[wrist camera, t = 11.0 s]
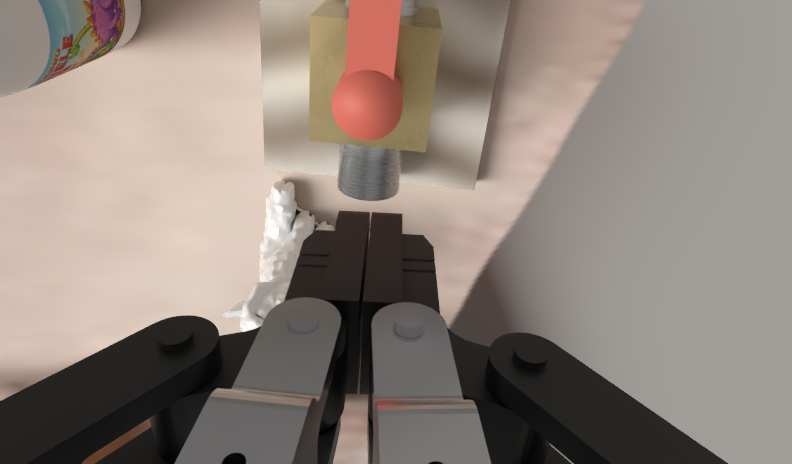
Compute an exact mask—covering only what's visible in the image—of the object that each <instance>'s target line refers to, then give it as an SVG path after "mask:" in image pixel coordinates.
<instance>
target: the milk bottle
mask: <svg viewBox="0 0 792 464" xmlns="http://www.w3.org/2000/svg"><path fill="white" fill-rule="evenodd" d="M140 15H141V1H140V0H0V97H3V96H7V95H11V94H14V93H17V92H19V91H22V90H25V89H27V88H30V87H33V86H35V85H38V84H40V83H43V82H45V81H47V80H50V79H52V78H54V77H57V76H59V75H61V74H64V73H66V72H68V71H70V70H73V69H75V68H77V67H79V66H82V65H84V64H86V63H88V62H91V61H93V60H95V59H97V58H99V57H102V56H104V55H106V54H108V53H110V52H112V51H114V50H116V49H118V48H120V47H122V46H123V45H125V44H126V43H127V42H128V41H129V40H130V39H131V38H132V36H133V35H134V34H135V32H136V30H137V27H138V25H139V21H140Z"/></svg>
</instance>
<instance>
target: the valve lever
mask: <svg viewBox="0 0 792 464" xmlns="http://www.w3.org/2000/svg"><path fill="white" fill-rule="evenodd" d="M401 8H402V0H349V17H348V34H347V51H346V67H345V72H344V74H343V75H342V76H341V78H340V80H339V82H338V84H337V86H336V88H335V90H334V93H333V96H332V101H331V108H332V113H333V117H334V119H335V121H336V123H337V124H338V126H339V127H340V128H341V129H342V130H343V131H344V132H345V133H346V134H348V135H349V136H351V137H353V138H356V139H359V140H365V141H371V140H377V139H380V138H383V137H385V136H386V135H388V134H389V133H391V132H392V131H393V130H394V129H395V127H396V126H397V124H398V123H399V120H400V118H401V114H402V105H403V91H402V87H401V84H400V82H399V80H398V78H397V77H396V75H395V64H396V55H397V45H398V36H399V27H400V17H401Z"/></svg>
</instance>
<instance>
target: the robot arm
mask: <svg viewBox="0 0 792 464" xmlns="http://www.w3.org/2000/svg"><path fill="white" fill-rule="evenodd" d="M369 226H370V212H354V211H339V214H338V218H337V223H336V227H335V231H329V230H315V231H314V232H313V233H312V234H311V235H309V236H308V237H307V238H306V239H305V240H304V241H303V244H302V247H301V250H300V253H299V256H298V259H297V262H296V267H295V269H294V272H293V275H292V278H291V281H290V284H289V287H288V291H287V294H286V297H285V300H284V302H282V303H280V304H278V305H276V306H275V307H273V308H272V309H271V310H270V311H269V312H268V314H267V315H266V317H265V319H264V321H263V324H262V326H260V327H258V328H256V329H252V330H249V331H245V332H240V333H234V334H228V335H222V336H219V332H218V329H217V327H216V326H215V325H214V324H213V323H212V322H211V321H209V320H207V319H205V318H202V317H197V316H176V317H171V318H167V319H164V320H161V321H159V322H156V323H154V324H152V325H150V326H148V327H146V328H144V329H142V330H140V331H138V332H136V333H134V334H132V335H130V336H128V337H126V338H124V339H123V340H121V341H119V342H117V343H115V344H113V345H111V346H109V347H107V348H105V349H103V350H101V351H99V352H97V353H95V354H93V355H91V356H89V357H87V358H85V359H83V360H81V361H79V362H77V363H75V364H73V365H71V366H69V367H67V368H65V369H63V370H61V371H59V372H57V373H55V374H53V375H51V376H49V377H47V378H45V379H43V380H41V381H39V382H37V383H35V384H33V385H31V386H29V387H27V388H25V389H23V390H21V391H20V392H18V393H16V394H14V395H12V396H10V397H8V398H6V399H4V400H2V401H0V464H81V463H82V462H83V461H84V460H85V459H87V458H88V457H89V456H90V455H92V454H93V453H95V452H96V451H98V450H99V449H101V448H103V447H104V446H106V445H107V444H109V443H111V442H112V441H114V440H115V439H117V438H118V437H120V436H122V435H123V434H125V433H126V432H128V431H130V430H131V429H133V428H134V427H136V426H137V425H139V424H141V423H142V422H144V421H145V420H147V419H148V418H149V419H150V423H151V428H149V429H148V430H146V431H145V432H143V433H141V434H140V435H138V436H137V437H135V438H134V439H132V440H131V441H129V442H128V443H126V444H124V445H123V446H121V447H120V448H118V449H117V450H115V451H114V452H112V453H111V454H109V455H107V456H106V457H104V458H103V459H101V460H100V461H98V462H97V463H95V464H333V459H334V455H335V450H336V446H337V441H338V436H339V432H340V426H341V415H342V413H343V409H344V403H345V395H346V393H348V394H357V386H358V376H359V366H360V356H361V380H360V394H369V397H368V423H367V440H368V464H571V463H570V462H569V461H568V460H566V459H565V458H564V457H563V456H562V455H561V454H559V453H558V452H557V451H556V450H555V449H554V448H552V447H551V446H550V443H551V444H552V445H553V446H554V447H555V448H556V449H558V450H559V451H560V452H561V453H562V454H563V455H565V456H566V457H567V458H568V459H569V460H570V461H572V462H573V463H574V464H728V463H726V462H725V461H724V460H722V459H721V458H719V457H718V456H716V455H715V454H713V453H712V452H711V451H709V450H708V449H706V448H705V447H703V446H702V445H700V444H699V443H697V442H696V441H694V440H693V439H692V438H690V437H689V436H687V435H686V434H684V433H683V432H681V431H680V430H678V429H677V428H676V427H674V426H673V425H671V424H670V423H669V422H667V421H666V420H664V419H663V418H661V417H660V416H658V415H657V414H656V413H654V412H653V411H651V410H650V409H648V408H647V407H645V406H644V405H643V404H641V403H640V402H638V401H637V400H635V399H634V398H632V397H631V396H629V395H628V394H627V393H625V392H624V391H622V390H621V389H619V388H618V387H617V386H615V385H614V384H612V383H611V382H609V381H608V380H606V379H605V378H603V377H602V376H601V375H599V374H598V373H596V372H595V371H593V370H592V369H590V368H589V367H588V366H586V365H585V364H583V363H582V362H580V361H579V360H577V359H576V358H575V357H573V356H572V355H570V354H569V353H567V352H566V351H564V350H563V349H562V348H560V347H558V346H557V345H556V344H554V343H553V342H551V341H549V340H547V339H545V338H543V337H540V336H537V335H533V334H529V333H510V334H506V335H503V336H501V337H499V338H497V339H496V340H495V341H494V342H493V343H492V345H491V347H486V346H483V345H479V344H476V343H473V342H469V341H466V340H464V339H462V338H460V337H459V336H457V335H455V334H454V333H453V332H451V331H450V330H449V329H448V328H447V325H446V323H445V320H444V319H443V317H442V316H441V315H440V309H439V300H438V290H437V280H436V274H435V273H436V270H435V263H434V261H435V260H434V250H433V246H432V245H431V244H430V243H429V242H428V240H427V239H426V238H425V237H424V236H423V235H408V234H402V214H394V213H375V212H372V218H371V228H370V237H369ZM361 345H362V346H361Z"/></svg>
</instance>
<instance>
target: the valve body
mask: <svg viewBox="0 0 792 464" xmlns="http://www.w3.org/2000/svg"><path fill="white" fill-rule="evenodd" d="M348 17H349V0H326V1H325V2H324V3H323V4H322V5H321V6H320V7H318V8H317V9H316V10H315V11H314V12H313V13H312V14H311V15H310V81H309V141H319V142H329V143H338V144H339V164H338V188H339V190H340V191H341V192H342V193H344V194H345V195H347V196H349V197H352V198H355V199H359V200H366V201H379V200H385V199H389V198H391V197H393V196H395V195H396V194H397V193H398V190H399V181H400V172H401V163H402V154H403V150H406V151H416V152H426V149H427V141H428V134H429V126H430V119H431V111H432V104H433V96H434V89H435V81H436V74H437V66H438V59H439V51H440V44H441V36H442V25H441V20H440V16H439V11H438V9H432V8H423V7H419V0H402V8H401V17H400V27H399V36H398V45H397V55H396V64H395V75H396V77H397V78H398V80H399V82H400V84H401V87H402V91H403V105H402V114H401V118H400V120H399V123H398V124H397V126H396V127H395V129H394V130H393V131H392V132H391V133H389V134H388V135H386V136H385V137H383V138H380V139H377V140H371V141H365V140H359V139H356V138H353V137H351V136H349V135H348V134H346V133H345V132H344V131H343V130H342V129H341V128H340V127H339V126H338V124H337V123H336V121H335V119H334V117H333V113H332V108H331V101H332V96H333V93H334V90H335V88H336V86H337V84H338V82H339V80H340V78H341V76H342V75H343V74H344V72H345V67H346V51H347V34H348Z"/></svg>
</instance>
